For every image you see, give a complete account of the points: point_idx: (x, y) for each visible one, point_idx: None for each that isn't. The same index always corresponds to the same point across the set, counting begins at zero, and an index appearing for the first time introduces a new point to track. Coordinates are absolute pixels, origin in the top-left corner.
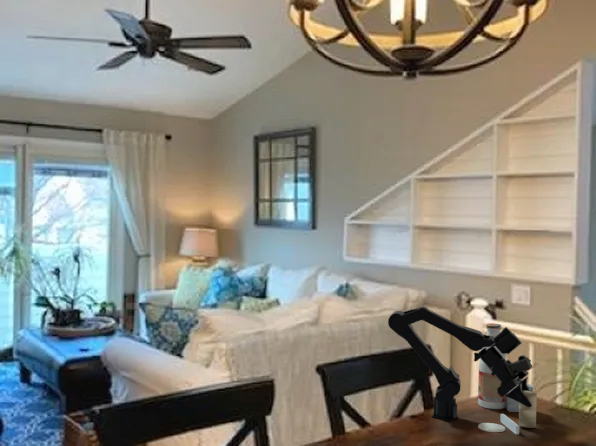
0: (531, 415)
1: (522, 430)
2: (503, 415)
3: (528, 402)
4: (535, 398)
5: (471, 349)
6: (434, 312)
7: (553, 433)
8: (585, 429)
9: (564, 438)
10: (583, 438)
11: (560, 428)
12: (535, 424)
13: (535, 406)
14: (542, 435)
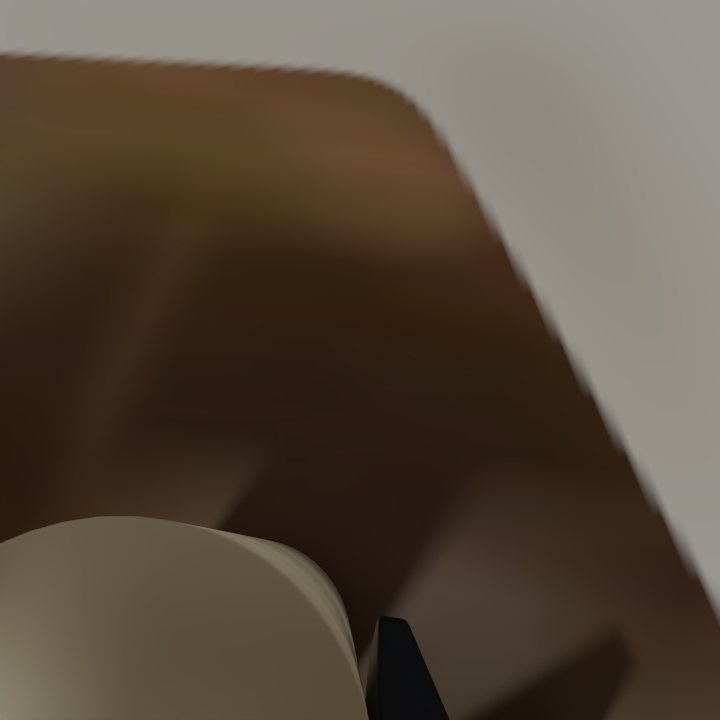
0: (338, 603)
1: None
2: None
3: (434, 710)
4: (250, 546)
5: None
6: None
7: (343, 356)
8: (93, 92)
9: (456, 261)
10: (376, 118)
11: (141, 293)
12: (276, 542)
13: (266, 544)
14: (464, 460)
